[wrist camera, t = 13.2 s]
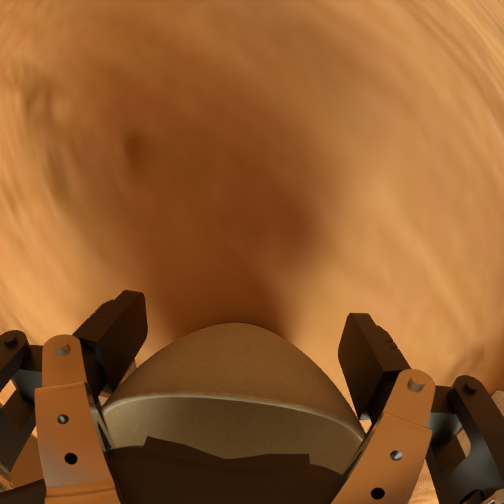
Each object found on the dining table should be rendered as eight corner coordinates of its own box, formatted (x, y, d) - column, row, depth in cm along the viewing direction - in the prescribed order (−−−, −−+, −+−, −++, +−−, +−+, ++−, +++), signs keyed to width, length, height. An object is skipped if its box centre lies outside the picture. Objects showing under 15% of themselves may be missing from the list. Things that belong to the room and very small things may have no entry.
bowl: (297, 422, 16) (305, 514, 9) (149, 392, 15) (113, 481, 8) (363, 299, 12) (429, 408, 6) (157, 250, 12) (65, 343, 5)
